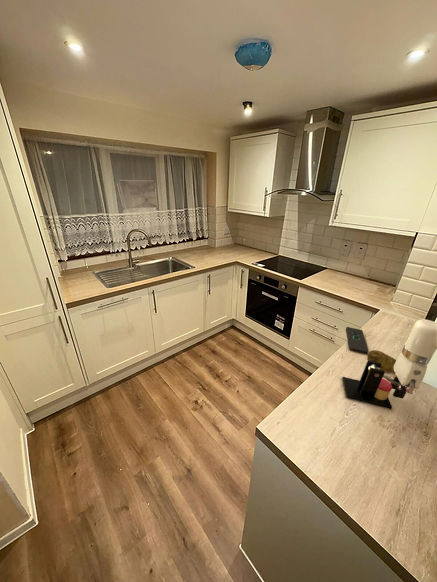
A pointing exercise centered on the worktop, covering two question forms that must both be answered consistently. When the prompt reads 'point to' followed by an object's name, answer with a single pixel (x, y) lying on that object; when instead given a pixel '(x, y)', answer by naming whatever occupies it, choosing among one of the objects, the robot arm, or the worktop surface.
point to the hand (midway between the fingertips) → (395, 392)
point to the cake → (383, 390)
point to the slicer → (366, 386)
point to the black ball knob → (386, 377)
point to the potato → (382, 360)
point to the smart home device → (356, 340)
